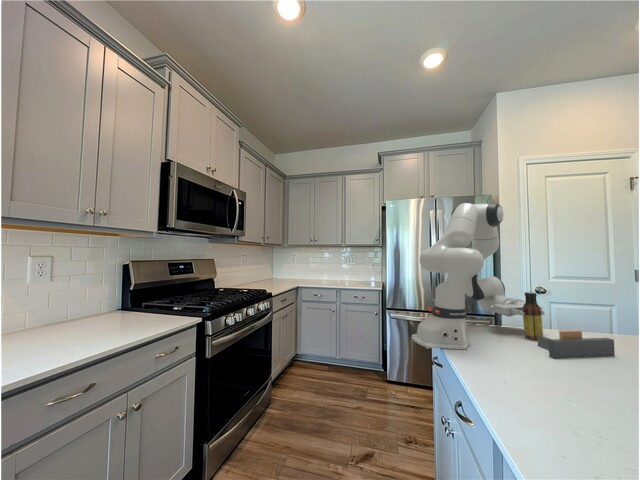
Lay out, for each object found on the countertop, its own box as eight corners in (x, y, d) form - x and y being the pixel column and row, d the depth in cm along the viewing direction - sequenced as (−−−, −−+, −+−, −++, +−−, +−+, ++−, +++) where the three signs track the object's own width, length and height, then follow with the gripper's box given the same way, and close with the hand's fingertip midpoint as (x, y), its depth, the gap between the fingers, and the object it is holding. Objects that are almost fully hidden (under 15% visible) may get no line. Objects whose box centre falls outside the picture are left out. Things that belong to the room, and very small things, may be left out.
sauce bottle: (541, 338, 113) (540, 292, 114) (544, 342, 107) (543, 294, 108) (522, 335, 116) (521, 290, 117) (524, 339, 111) (523, 292, 112)
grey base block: (554, 358, 91) (554, 341, 91) (524, 346, 103) (523, 330, 103) (614, 356, 93) (613, 339, 93) (578, 344, 105) (577, 329, 105)
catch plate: (563, 351, 95) (562, 331, 96) (559, 350, 97) (559, 330, 97) (582, 351, 96) (581, 331, 97) (579, 349, 97) (578, 330, 98)
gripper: (486, 300, 125) (511, 306, 111) (525, 299, 127) (553, 305, 113) (487, 313, 124) (511, 321, 111) (525, 312, 126) (554, 320, 113)
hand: (533, 313), depth 112 cm, fingers open, 8 cm apart
